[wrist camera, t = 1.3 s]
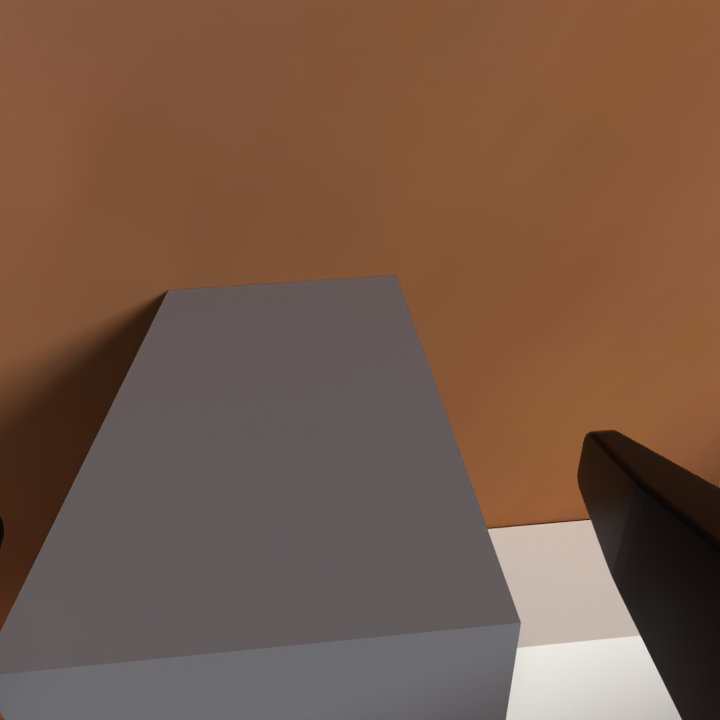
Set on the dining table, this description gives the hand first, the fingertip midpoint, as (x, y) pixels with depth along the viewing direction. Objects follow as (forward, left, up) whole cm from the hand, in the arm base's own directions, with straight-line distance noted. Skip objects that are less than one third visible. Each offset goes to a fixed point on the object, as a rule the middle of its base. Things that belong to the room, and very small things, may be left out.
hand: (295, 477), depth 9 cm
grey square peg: (0, 0, -3) cm, 3 cm away
